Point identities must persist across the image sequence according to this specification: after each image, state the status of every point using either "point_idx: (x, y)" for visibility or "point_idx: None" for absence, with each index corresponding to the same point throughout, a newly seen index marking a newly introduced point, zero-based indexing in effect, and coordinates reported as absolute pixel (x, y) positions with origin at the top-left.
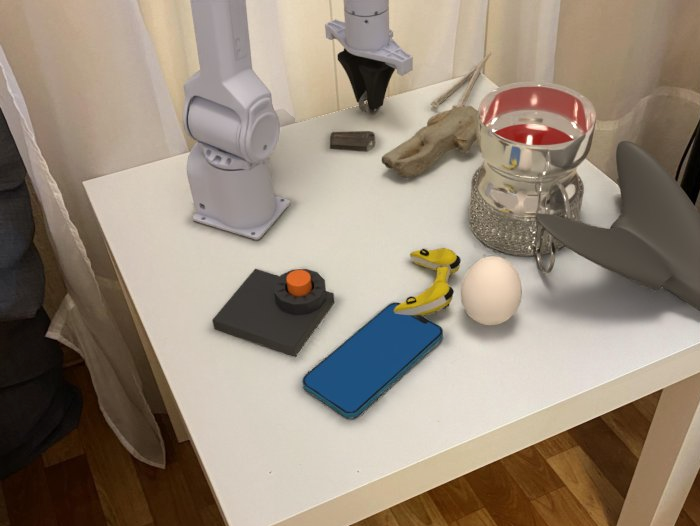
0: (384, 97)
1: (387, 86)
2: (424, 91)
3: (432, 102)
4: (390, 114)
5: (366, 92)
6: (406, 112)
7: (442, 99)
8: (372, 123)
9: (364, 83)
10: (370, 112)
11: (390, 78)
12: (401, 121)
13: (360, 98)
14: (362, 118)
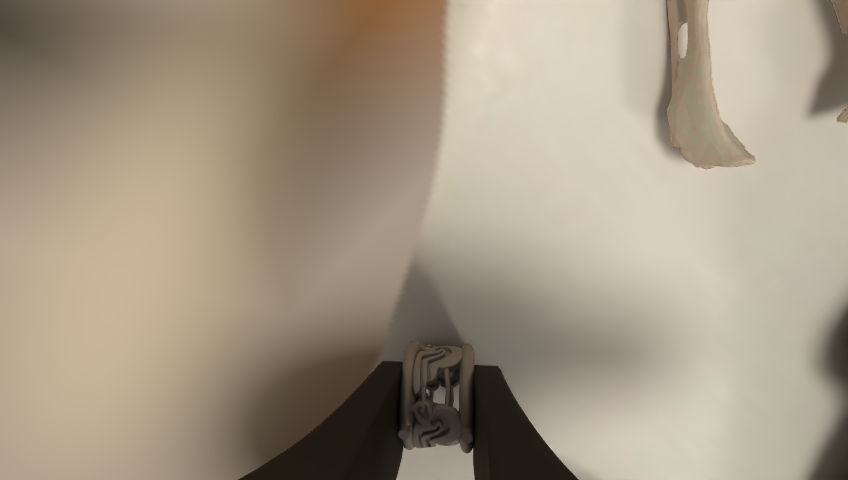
0: (508, 386)
1: (532, 426)
2: (509, 29)
3: (710, 164)
4: (522, 317)
5: (411, 431)
6: (573, 256)
7: (676, 31)
8: None
9: (381, 457)
10: (455, 382)
11: (570, 471)
12: (605, 326)
13: (409, 449)
14: None
